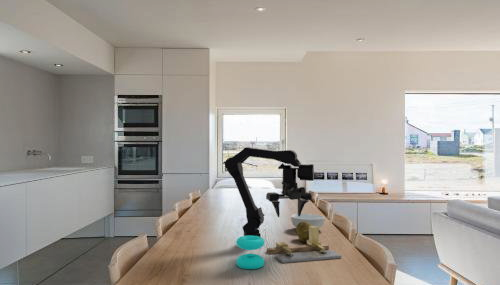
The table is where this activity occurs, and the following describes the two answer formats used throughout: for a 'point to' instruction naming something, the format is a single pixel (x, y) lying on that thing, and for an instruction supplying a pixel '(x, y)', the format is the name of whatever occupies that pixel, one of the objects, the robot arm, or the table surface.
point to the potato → (303, 231)
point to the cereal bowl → (308, 219)
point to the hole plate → (307, 256)
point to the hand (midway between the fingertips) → (288, 216)
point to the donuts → (250, 259)
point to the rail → (292, 248)
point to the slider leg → (314, 238)
